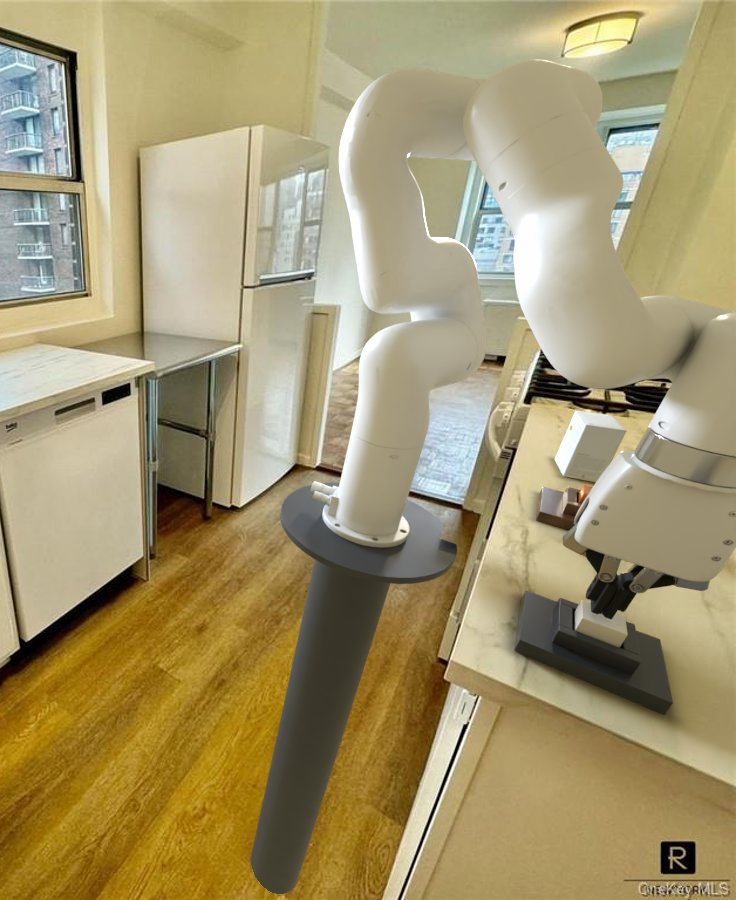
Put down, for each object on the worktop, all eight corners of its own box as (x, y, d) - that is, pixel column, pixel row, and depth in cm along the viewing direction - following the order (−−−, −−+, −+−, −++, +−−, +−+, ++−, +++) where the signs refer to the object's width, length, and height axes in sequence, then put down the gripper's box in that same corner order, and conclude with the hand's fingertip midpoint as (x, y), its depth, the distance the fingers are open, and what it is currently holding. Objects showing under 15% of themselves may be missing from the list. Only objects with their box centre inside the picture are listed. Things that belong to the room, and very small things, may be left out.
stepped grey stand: (514, 650, 53) (525, 627, 52) (520, 600, 60) (531, 578, 59) (664, 715, 47) (683, 690, 45) (652, 650, 54) (668, 627, 52)
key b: (578, 504, 75) (583, 493, 74) (578, 495, 77) (583, 484, 76) (608, 513, 73) (615, 501, 72) (607, 503, 75) (613, 491, 74)
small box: (600, 484, 86) (628, 431, 82) (561, 476, 89) (585, 424, 84) (589, 466, 93) (614, 415, 88) (553, 459, 95) (575, 409, 90)
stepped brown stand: (535, 520, 76) (544, 501, 75) (539, 494, 83) (546, 477, 82) (639, 551, 69) (651, 531, 68) (633, 520, 76) (643, 501, 75)
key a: (574, 631, 52) (582, 617, 51) (574, 612, 54) (581, 599, 54) (618, 649, 50) (627, 634, 49) (616, 628, 52) (625, 614, 52)
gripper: (811, 469, 41) (693, 622, 50) (586, 421, 50) (518, 560, 58) (845, 506, 36) (707, 671, 45) (587, 446, 44) (512, 595, 53)
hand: (600, 608), depth 51 cm, fingers closed
